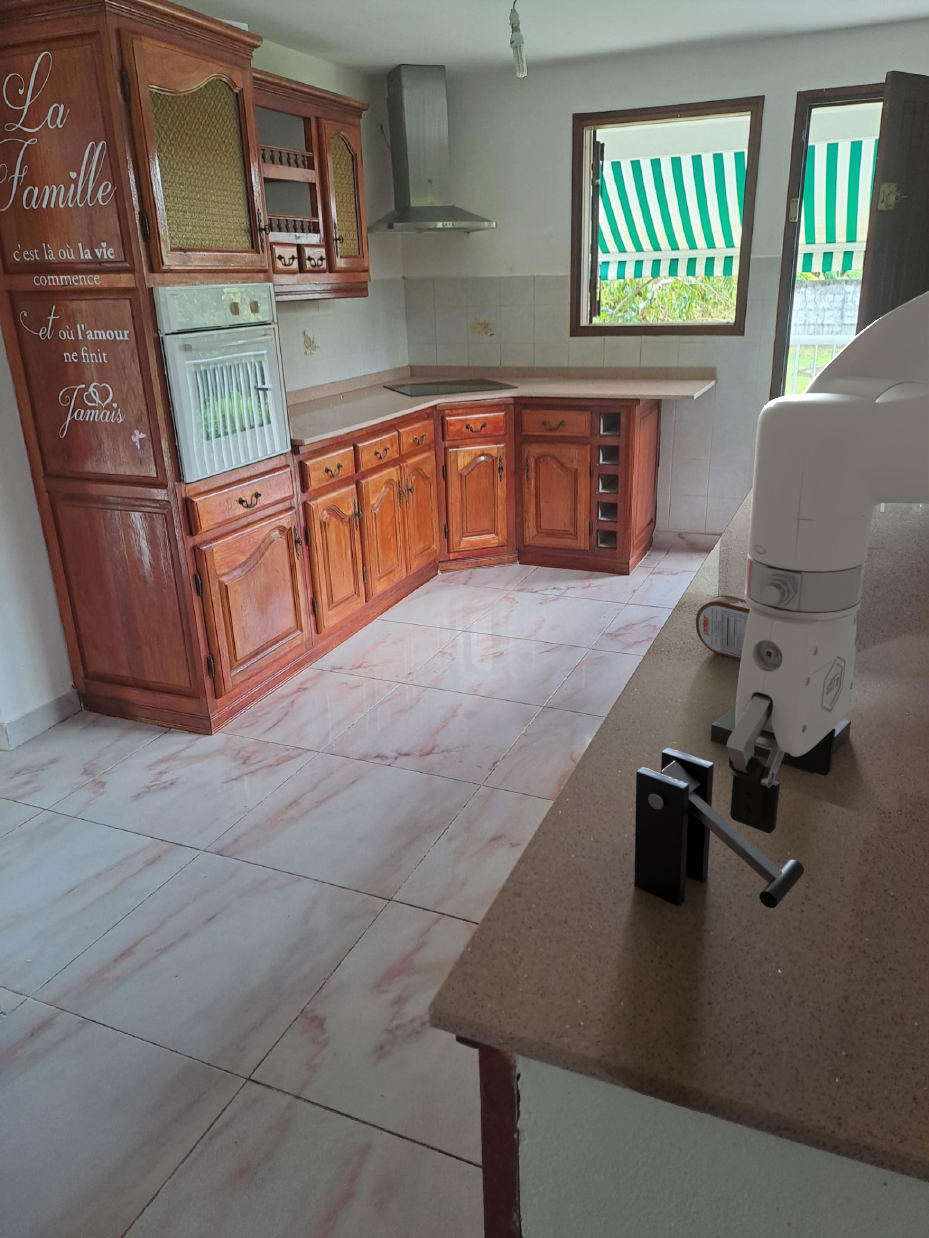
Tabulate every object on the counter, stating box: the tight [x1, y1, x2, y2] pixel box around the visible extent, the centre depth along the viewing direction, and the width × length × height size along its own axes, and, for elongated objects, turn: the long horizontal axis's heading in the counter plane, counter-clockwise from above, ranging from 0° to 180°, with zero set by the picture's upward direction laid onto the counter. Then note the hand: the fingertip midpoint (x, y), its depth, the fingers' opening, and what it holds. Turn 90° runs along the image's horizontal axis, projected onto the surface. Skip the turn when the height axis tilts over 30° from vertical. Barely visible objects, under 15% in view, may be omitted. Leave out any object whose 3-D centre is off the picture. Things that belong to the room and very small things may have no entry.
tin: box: [695, 594, 751, 662], centre depth 120 cm, size 15×3×8 cm, turn 45°
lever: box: [659, 761, 805, 909], centre depth 71 cm, size 13×5×2 cm, turn 48°
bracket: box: [633, 747, 715, 907], centre depth 75 cm, size 11×9×13 cm
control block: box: [710, 705, 852, 775], centre depth 100 cm, size 12×10×4 cm
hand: (782, 795), depth 66 cm, fingers open, 9 cm apart
